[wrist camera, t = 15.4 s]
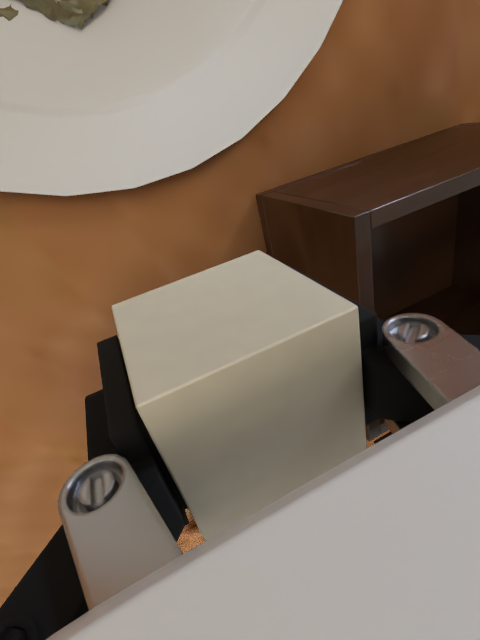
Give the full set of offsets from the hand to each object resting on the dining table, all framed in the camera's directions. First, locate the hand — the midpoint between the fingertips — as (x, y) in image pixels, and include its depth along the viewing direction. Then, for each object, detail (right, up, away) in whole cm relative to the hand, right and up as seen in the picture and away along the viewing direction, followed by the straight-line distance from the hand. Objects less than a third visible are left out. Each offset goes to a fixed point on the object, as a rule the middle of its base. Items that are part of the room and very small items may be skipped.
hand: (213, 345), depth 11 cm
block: (0, 0, 0) cm, 0 cm away
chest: (+11, +6, +16) cm, 20 cm away
